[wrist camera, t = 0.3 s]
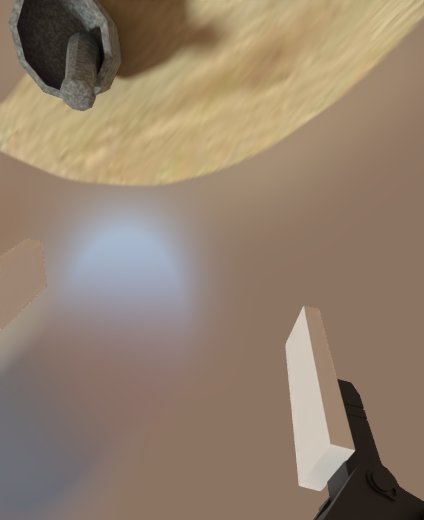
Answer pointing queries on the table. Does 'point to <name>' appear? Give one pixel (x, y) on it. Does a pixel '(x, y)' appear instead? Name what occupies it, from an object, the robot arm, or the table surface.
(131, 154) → the table surface
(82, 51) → the mortar and pestle
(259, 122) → the table surface
